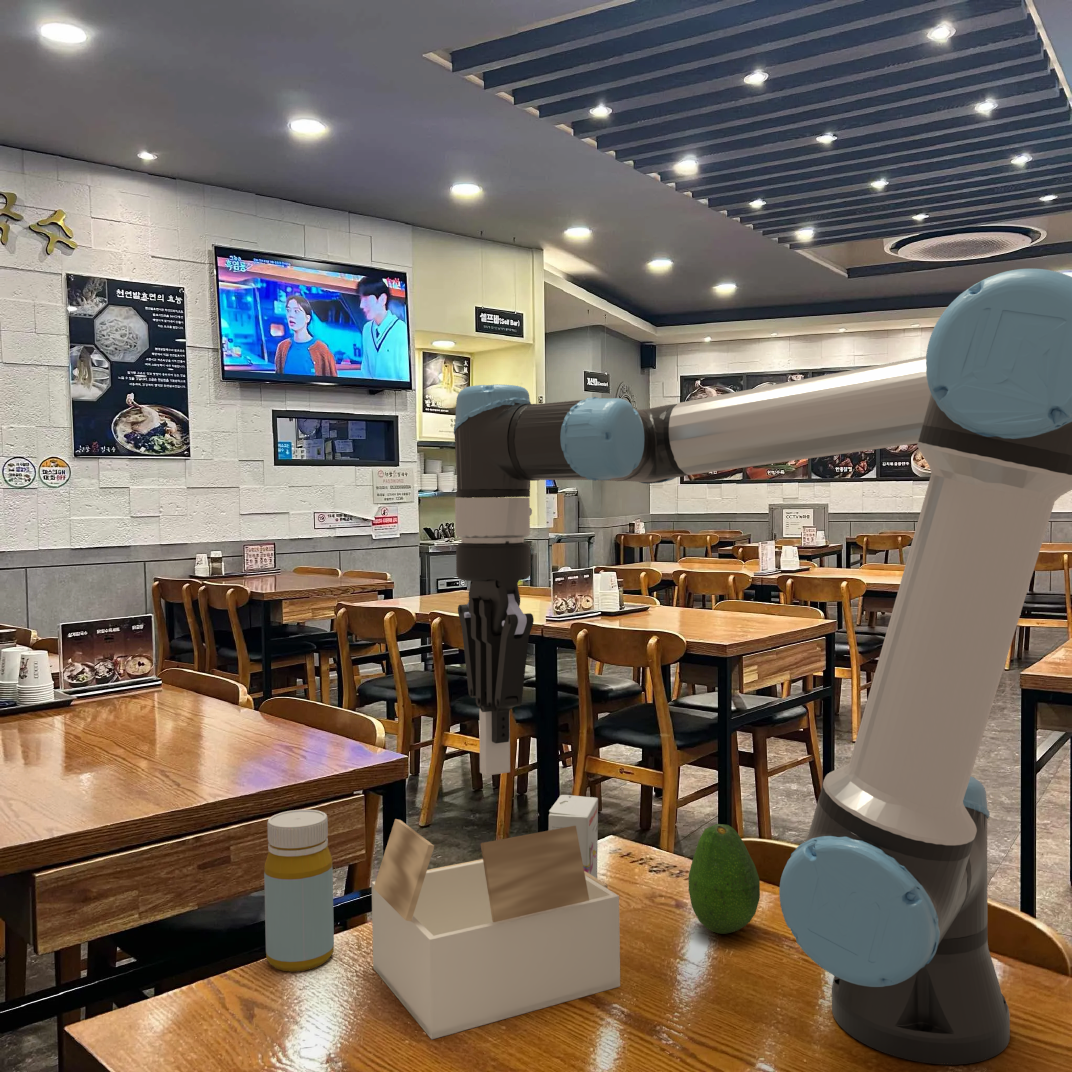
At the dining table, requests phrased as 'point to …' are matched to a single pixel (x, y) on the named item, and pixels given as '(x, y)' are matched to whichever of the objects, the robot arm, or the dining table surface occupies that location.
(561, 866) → the near flap
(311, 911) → the bottle
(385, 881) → the left flap
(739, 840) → the fruit
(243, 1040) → the dining table surface
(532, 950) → the carton
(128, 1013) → the dining table surface
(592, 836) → the ink box
